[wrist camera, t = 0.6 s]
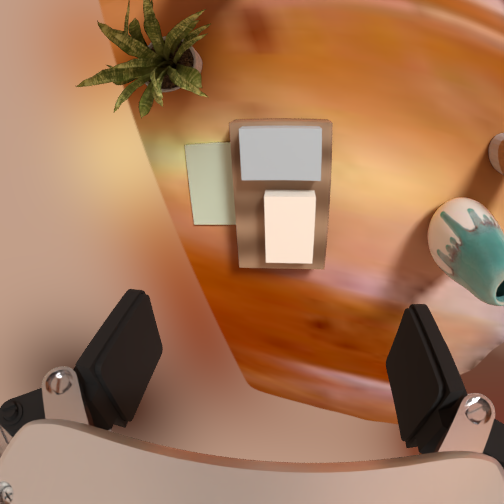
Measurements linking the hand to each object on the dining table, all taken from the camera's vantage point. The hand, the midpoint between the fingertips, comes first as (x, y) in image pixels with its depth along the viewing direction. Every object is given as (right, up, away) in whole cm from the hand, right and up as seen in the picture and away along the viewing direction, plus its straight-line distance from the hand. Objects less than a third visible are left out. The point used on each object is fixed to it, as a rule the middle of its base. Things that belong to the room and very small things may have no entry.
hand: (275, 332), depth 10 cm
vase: (+30, +7, +30) cm, 43 cm away
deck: (+3, +11, +30) cm, 33 cm away
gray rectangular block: (+3, +15, +24) cm, 28 cm away
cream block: (+4, +7, +28) cm, 29 cm away
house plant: (-8, +27, +23) cm, 36 cm away
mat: (-6, +12, +31) cm, 34 cm away
